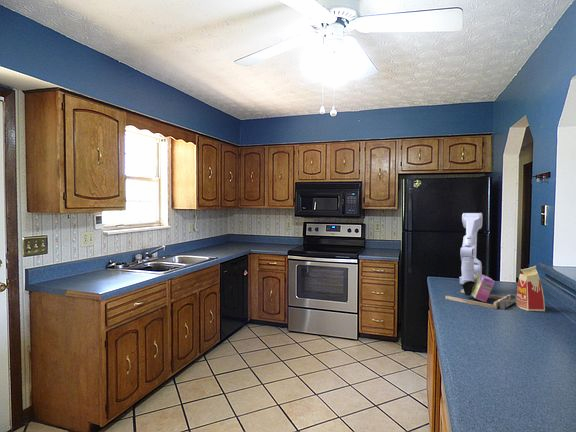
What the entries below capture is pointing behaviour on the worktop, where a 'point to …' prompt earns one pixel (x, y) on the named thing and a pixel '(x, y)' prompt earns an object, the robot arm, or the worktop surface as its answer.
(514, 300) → the bay
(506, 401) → the worktop surface
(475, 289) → the box
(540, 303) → the milk carton
